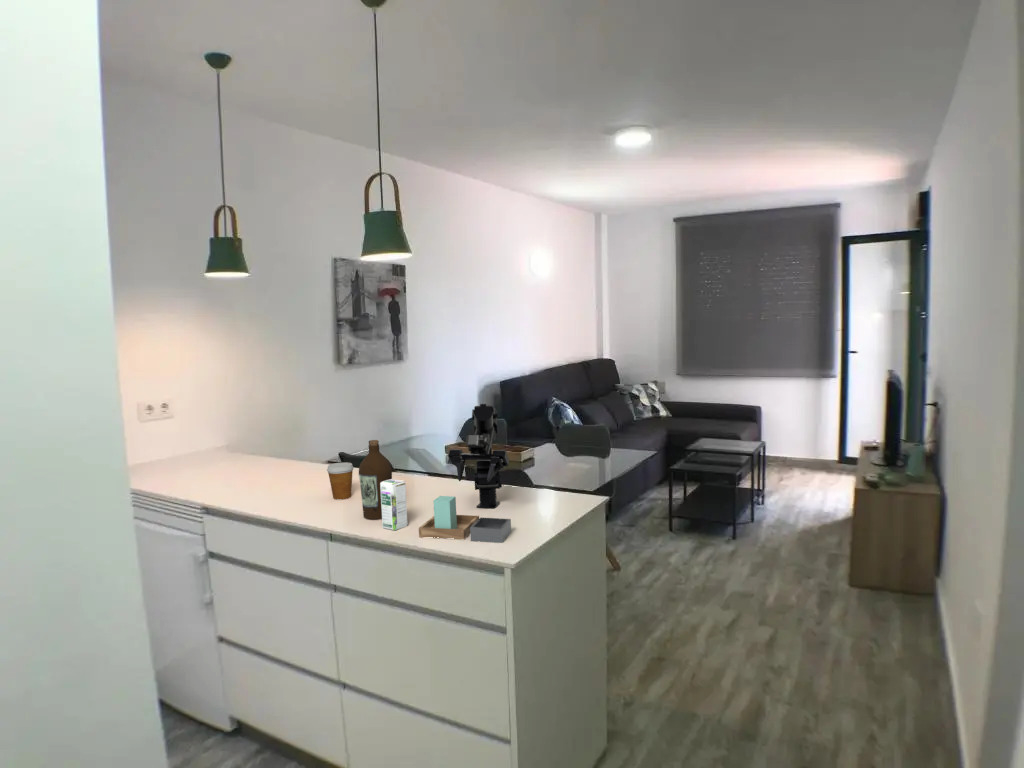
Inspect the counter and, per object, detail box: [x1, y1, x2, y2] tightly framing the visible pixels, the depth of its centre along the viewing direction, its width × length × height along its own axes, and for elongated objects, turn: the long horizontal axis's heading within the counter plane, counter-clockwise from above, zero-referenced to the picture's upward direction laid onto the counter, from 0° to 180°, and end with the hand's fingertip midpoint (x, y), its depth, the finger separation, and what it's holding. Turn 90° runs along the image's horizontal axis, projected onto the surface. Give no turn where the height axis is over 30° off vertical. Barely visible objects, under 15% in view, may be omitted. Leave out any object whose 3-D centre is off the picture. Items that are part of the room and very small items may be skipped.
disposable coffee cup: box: [326, 462, 355, 500], centre depth 245 cm, size 10×10×12 cm
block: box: [432, 495, 457, 529], centre depth 199 cm, size 5×5×10 cm
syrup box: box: [380, 478, 408, 531], centre depth 207 cm, size 6×6×14 cm
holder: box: [469, 517, 512, 544], centre depth 195 cm, size 9×9×4 cm
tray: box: [418, 514, 480, 540], centre depth 202 cm, size 14×14×3 cm
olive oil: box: [358, 439, 393, 521], centre depth 219 cm, size 11×11×25 cm
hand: (473, 480), depth 206 cm, fingers open, 9 cm apart
